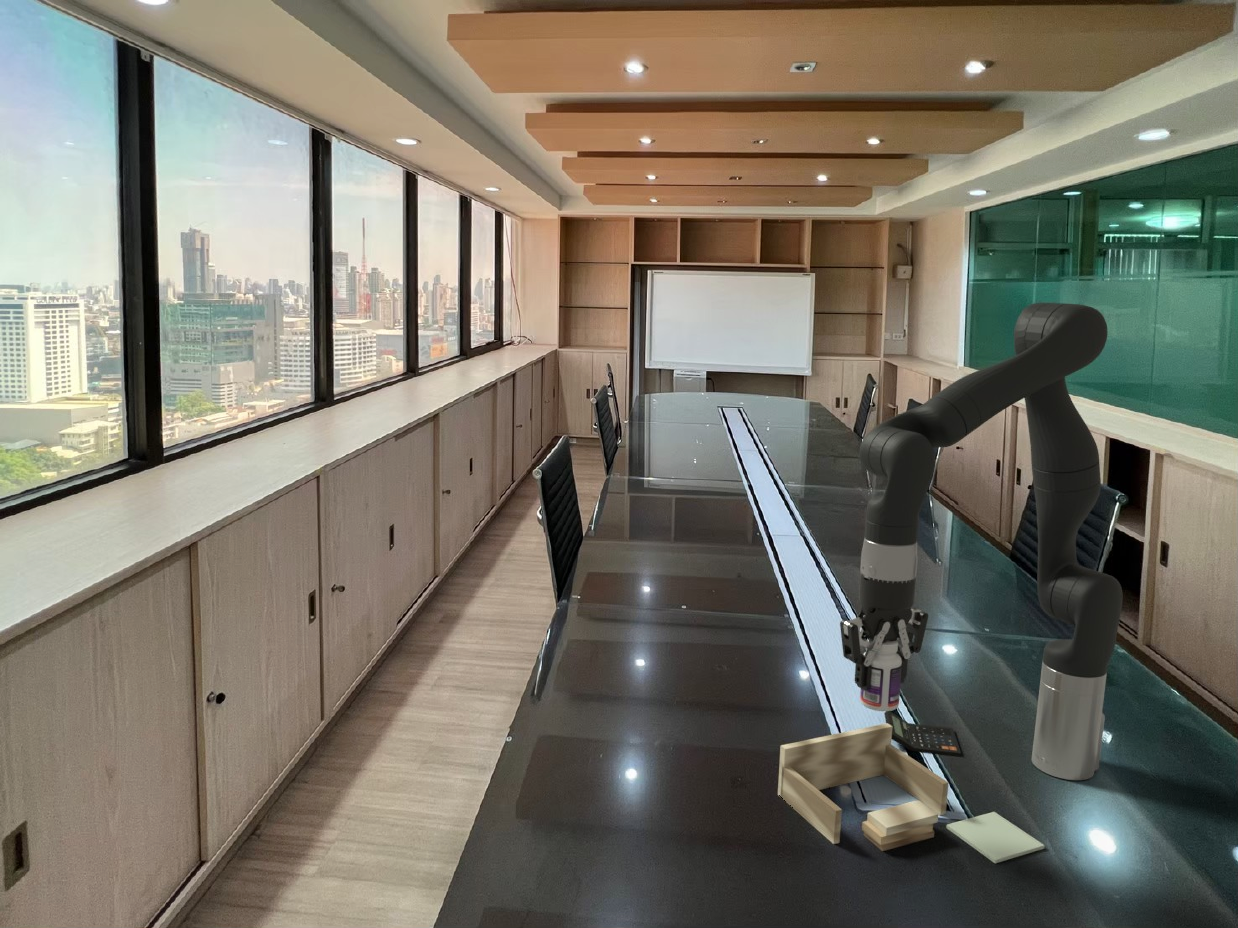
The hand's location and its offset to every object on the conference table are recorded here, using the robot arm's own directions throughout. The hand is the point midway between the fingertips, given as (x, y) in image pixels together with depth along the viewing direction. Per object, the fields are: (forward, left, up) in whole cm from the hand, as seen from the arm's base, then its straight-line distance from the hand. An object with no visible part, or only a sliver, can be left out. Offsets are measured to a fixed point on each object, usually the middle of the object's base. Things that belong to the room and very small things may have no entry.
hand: (880, 684), depth 132 cm
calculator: (-23, -15, -20) cm, 34 cm away
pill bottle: (0, 0, -3) cm, 3 cm away
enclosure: (0, -2, -20) cm, 20 cm away
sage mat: (-12, +12, -20) cm, 26 cm away
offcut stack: (0, +7, -20) cm, 21 cm away
